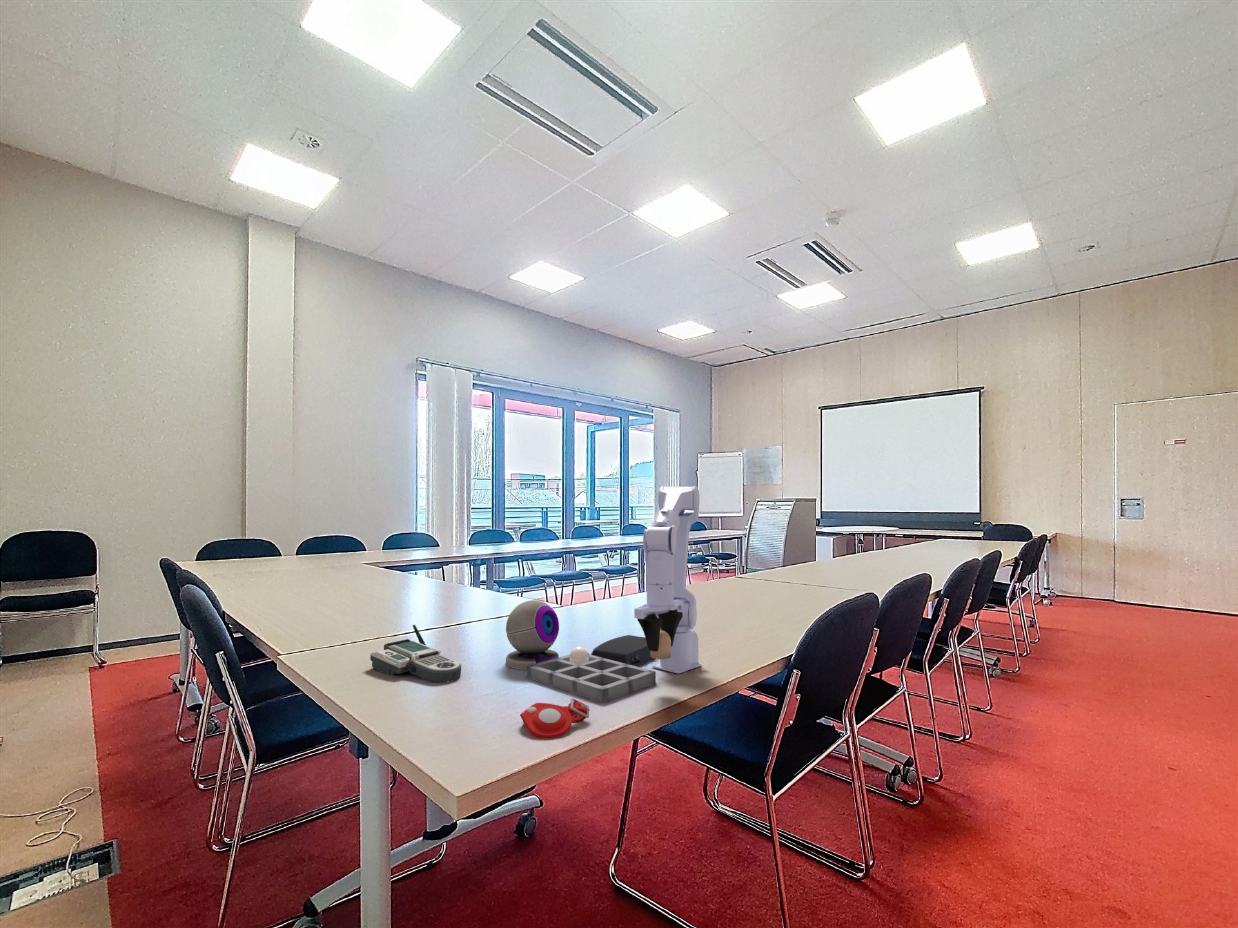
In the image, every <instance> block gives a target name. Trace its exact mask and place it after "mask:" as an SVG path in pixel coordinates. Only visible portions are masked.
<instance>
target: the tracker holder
mask: <svg viewBox="0 0 1238 928" xmlns="http://www.w3.org/2000/svg"><path fill="white" fill-rule="evenodd" d="M590 711H591V710H590V706H589V705H588V704H586V703H583V702H581V701H580V700H577V699H576V698H574V697H571V698H570V702H569V703H568V705H567V706H563V705H559V704H554V703H547V702H535V703H533V704H532V705H530V706H528V707H527V709H525V710H524V711H522V712H521V713H520V714H519V716H520V718H521V720H522V722H523V726H524V727H525V730H526V731H527V732H528V733H529V734H530V735H531V736H532V737H533V738H535V739H540V740H541V739H542V740H549V739H557V738H561V737H564V736H565V735H566V734H568V733H569V731H570V729H571V728H572V724H573V723H580V722H583V721H584V720H585V719H589V717H590Z"/></svg>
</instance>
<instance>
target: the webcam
mask: <svg viewBox="0 0 1238 928" xmlns="http://www.w3.org/2000/svg"><path fill="white" fill-rule="evenodd" d="M505 633H506V637H507V640H508V642H509V644H510V646H512V647H513V649H514V651H511V652H510V653H507V655H506V657H505V665H506V666H508V667H509V668H511V669H512V668H513V669H515V670H516V669H517V670H526V671H527V666H529V665H533V664H537V663H540V662H544V661H548V660H552V659H555V658H559V657H560V655H559V653H558V652H557V651H555V650H553V649H550V648H552V646H553V645H554V643H555V642H556V640H557V638H558V636H559V633H560V621H559V617H558V615H557V612H556V611H555V610H554V609H553V608H552V607H551V606H550V605H549V604H548V603H546V602H543V601H541V600H535V599H533V600H526V601H524V602H521V603H519V604H518V605H516V607H514V608H513V610H512V611H511V612H510V614H509V615H508V617H507V620H506V624H505Z"/></svg>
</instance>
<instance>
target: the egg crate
mask: <svg viewBox="0 0 1238 928" xmlns="http://www.w3.org/2000/svg"><path fill="white" fill-rule="evenodd" d="M588 655H589V661H588V662H584V663H581V664H576V663H573V662H570V654H567V655H563V656H559V658H555V659H552V660H548V661H544V662H540V663H537V664H533V665H529V666H527V670H526V678H527V679H529V680H534V681H537V682H539V683H542V684H544V685H545V684H546V685H547V686H551V687H555V688H558V689H560V690H564V691H566V692H569V693H572V694H575V695H578V696H582V697H584V698H587V699H591V700H593V701H597V702H599V703H603V704H604V703H606V702H609V701H611V700H614V699H617V698H619V697H621V696H625V695H627V694H630V693H632V692H636V691H639V690H641V689H643V688H646V687H649V686H652V685H655V684H656V682H657V681H656V680H657V678H656V677H657V676H656V674H657V672H656V671H655V670H651V669H647V668H643V667H641V666H638V667H636V666H632V665H629V664H625V663H621V662H617V661H613V660H609V659H605V658H601V657H598V656H594V655H591V653H588Z"/></svg>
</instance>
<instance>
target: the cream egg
mask: <svg viewBox="0 0 1238 928" xmlns="http://www.w3.org/2000/svg"><path fill="white" fill-rule="evenodd" d="M588 654H589V651H588V650H587V649H586V648H585V647H583V646H576V647H574V648H573V649H572V650H571V651H570V654H569V655H570V662H573V663H576V664H581V663H584V662H588V661H589V655H588Z"/></svg>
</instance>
